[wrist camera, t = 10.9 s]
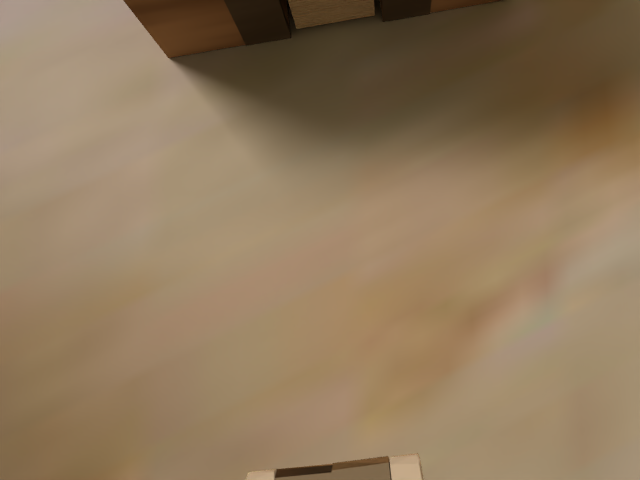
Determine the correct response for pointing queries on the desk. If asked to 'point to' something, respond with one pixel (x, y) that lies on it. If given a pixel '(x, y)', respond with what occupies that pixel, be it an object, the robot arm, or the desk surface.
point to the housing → (245, 20)
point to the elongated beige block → (328, 11)
